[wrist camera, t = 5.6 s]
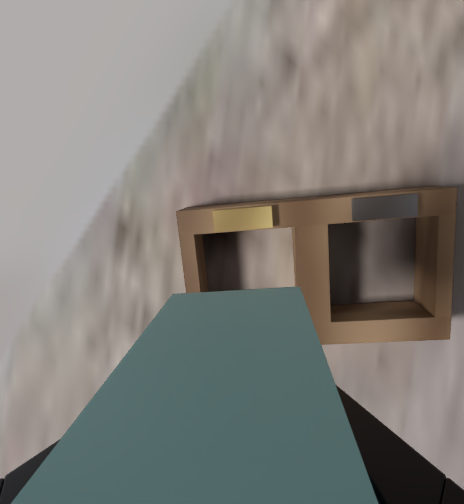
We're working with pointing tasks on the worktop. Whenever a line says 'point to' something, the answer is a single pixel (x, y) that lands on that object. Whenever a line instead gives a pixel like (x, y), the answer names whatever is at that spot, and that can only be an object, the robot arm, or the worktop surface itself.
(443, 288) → the socket box
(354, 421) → the robot arm
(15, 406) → the worktop surface
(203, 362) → the plug
